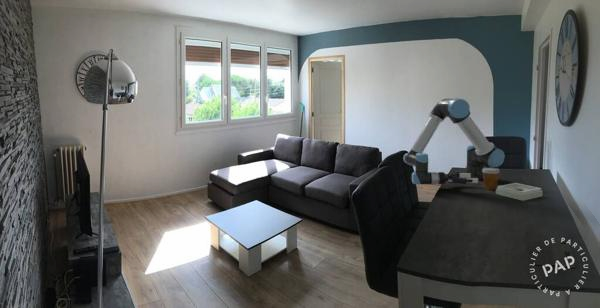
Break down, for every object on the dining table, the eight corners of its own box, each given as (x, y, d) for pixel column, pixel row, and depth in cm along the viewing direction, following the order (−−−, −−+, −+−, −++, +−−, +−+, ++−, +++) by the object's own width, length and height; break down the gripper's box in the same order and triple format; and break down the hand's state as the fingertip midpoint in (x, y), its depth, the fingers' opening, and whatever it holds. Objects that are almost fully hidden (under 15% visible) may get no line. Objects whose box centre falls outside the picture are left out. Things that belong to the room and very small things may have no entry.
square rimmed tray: (514, 189, 207) (514, 182, 206) (542, 196, 193) (542, 188, 192) (495, 193, 201) (496, 186, 200) (522, 200, 186) (523, 192, 186)
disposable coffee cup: (494, 186, 217) (495, 167, 216) (501, 190, 208) (502, 170, 206) (478, 186, 218) (479, 167, 216) (485, 190, 209) (486, 170, 207)
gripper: (433, 179, 230) (467, 179, 226) (442, 189, 205) (481, 189, 202) (433, 168, 229) (467, 167, 225) (442, 176, 204) (481, 176, 201)
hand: (474, 177), depth 214 cm, fingers open, 13 cm apart
